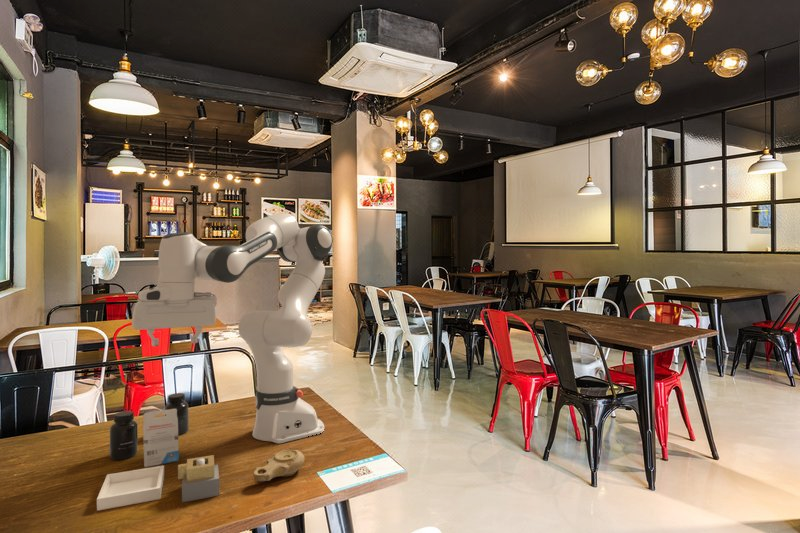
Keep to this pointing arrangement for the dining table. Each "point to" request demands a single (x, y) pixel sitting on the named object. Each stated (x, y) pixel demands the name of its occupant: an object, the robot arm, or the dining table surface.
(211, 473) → the tan square frame block
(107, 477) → the tray
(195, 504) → the dining table surface
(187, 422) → the supplement bottle
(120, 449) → the supplement bottle
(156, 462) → the ink box
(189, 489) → the grey pegged cube
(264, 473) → the oil lamp
